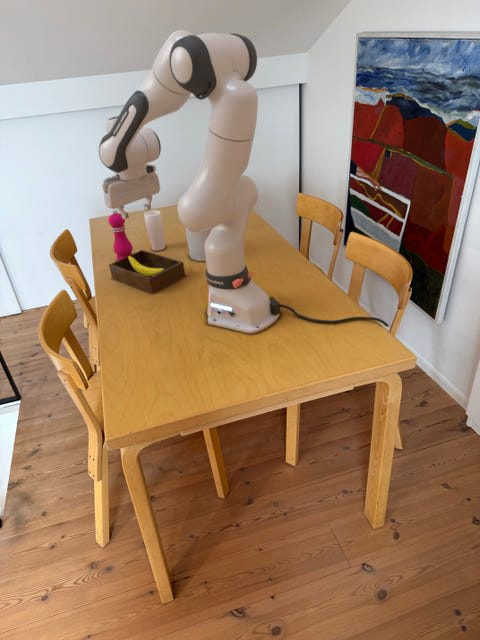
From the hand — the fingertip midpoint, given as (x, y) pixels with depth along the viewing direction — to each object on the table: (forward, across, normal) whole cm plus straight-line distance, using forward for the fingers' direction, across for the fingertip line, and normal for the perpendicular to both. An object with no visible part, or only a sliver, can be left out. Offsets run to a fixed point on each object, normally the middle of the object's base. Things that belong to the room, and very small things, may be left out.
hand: (137, 213), depth 151 cm
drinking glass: (+24, +20, +18) cm, 36 cm away
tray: (+24, 0, +1) cm, 24 cm away
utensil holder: (+24, +26, -4) cm, 36 cm away
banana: (+24, 0, +1) cm, 24 cm away
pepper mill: (+24, +6, +22) cm, 33 cm away
